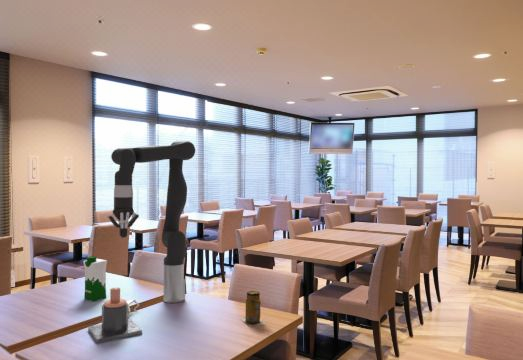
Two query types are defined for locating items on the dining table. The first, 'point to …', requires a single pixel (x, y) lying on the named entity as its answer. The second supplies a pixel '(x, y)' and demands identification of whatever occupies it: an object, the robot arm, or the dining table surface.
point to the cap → (115, 299)
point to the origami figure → (130, 303)
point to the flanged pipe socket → (114, 325)
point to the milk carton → (95, 278)
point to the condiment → (253, 309)
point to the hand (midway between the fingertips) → (123, 237)
